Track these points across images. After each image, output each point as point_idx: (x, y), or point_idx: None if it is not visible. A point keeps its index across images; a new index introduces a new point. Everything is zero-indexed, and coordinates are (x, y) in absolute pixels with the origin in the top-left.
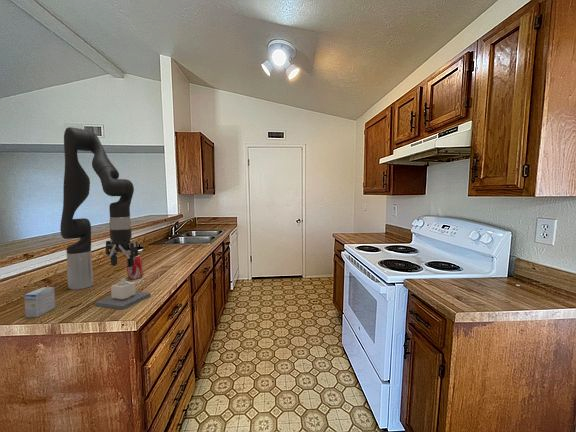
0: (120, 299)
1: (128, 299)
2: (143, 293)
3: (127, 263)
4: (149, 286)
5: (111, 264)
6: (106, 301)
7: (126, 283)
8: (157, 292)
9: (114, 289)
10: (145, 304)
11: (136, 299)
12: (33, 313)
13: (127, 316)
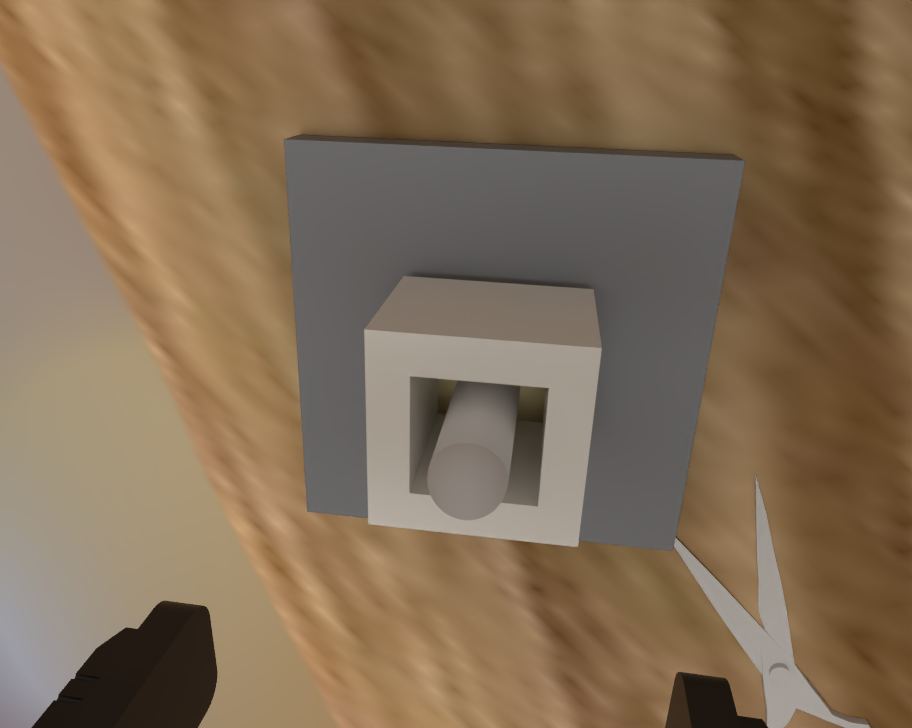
0: None
1: None
2: None
3: (152, 673)
4: (548, 701)
5: (724, 691)
6: (608, 216)
7: None
8: (337, 581)
9: (532, 323)
10: (197, 311)
11: (301, 338)
12: None
13: (106, 5)
